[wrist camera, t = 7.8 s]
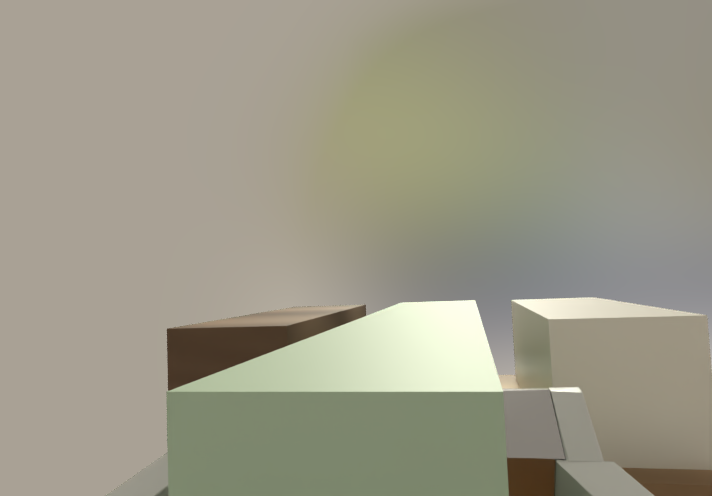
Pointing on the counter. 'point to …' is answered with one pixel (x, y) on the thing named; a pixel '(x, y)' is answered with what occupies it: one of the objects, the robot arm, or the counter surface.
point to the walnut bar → (246, 338)
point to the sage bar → (350, 413)
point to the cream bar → (624, 374)
